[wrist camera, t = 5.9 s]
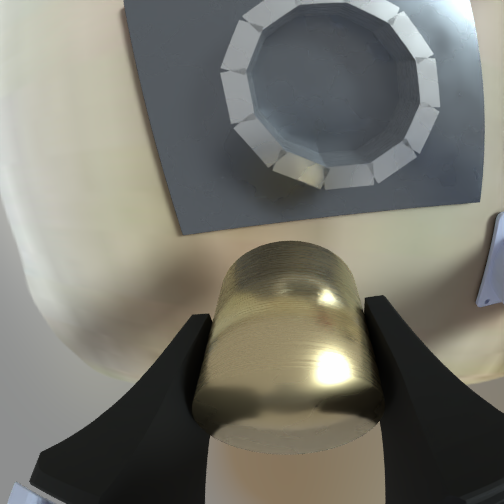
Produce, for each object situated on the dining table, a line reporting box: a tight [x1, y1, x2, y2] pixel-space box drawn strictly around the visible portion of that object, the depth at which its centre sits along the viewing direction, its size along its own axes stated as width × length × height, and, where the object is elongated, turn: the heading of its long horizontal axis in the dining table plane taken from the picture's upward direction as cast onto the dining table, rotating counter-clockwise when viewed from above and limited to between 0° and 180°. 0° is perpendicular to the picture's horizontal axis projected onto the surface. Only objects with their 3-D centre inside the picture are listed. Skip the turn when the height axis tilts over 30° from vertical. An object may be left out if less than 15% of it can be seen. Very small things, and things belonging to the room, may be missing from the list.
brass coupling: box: [192, 241, 385, 454], centre depth 9 cm, size 5×5×5 cm
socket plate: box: [123, 0, 485, 235], centre depth 12 cm, size 18×14×3 cm
